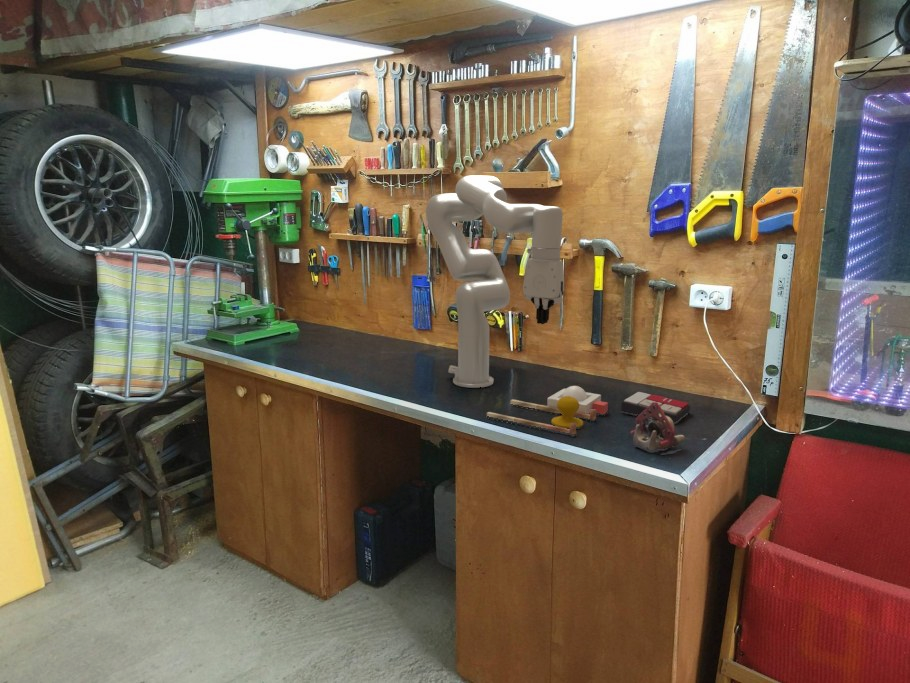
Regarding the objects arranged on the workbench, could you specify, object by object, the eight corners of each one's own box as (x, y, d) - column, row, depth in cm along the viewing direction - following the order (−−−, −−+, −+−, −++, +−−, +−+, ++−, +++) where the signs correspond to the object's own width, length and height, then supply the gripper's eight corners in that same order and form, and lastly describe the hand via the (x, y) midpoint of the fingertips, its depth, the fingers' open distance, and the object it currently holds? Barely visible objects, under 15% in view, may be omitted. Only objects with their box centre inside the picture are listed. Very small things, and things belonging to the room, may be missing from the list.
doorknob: (589, 426, 170) (566, 432, 166) (567, 417, 177) (544, 423, 172) (591, 398, 169) (568, 404, 164) (568, 390, 175) (545, 395, 170)
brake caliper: (615, 435, 157) (639, 391, 159) (638, 454, 163) (661, 412, 165) (653, 451, 148) (678, 404, 150) (676, 470, 154) (700, 425, 156)
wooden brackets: (486, 418, 176) (486, 407, 175) (512, 403, 187) (512, 393, 187) (574, 437, 162) (575, 425, 162) (596, 420, 174) (597, 409, 174)
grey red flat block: (676, 412, 171) (621, 398, 179) (674, 428, 172) (619, 413, 181) (691, 402, 179) (637, 389, 188) (688, 417, 180) (636, 403, 189)
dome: (558, 409, 183) (559, 387, 181) (567, 403, 188) (568, 381, 187) (580, 414, 179) (581, 391, 178) (589, 407, 185) (590, 385, 183)
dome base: (547, 410, 182) (547, 398, 181) (563, 400, 191) (564, 388, 190) (597, 420, 174) (598, 407, 174) (612, 409, 183) (613, 397, 183)
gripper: (513, 253, 176) (510, 321, 180) (566, 257, 168) (561, 329, 172) (526, 251, 182) (524, 317, 186) (578, 255, 174) (573, 324, 178)
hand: (542, 322), depth 179 cm, fingers closed
